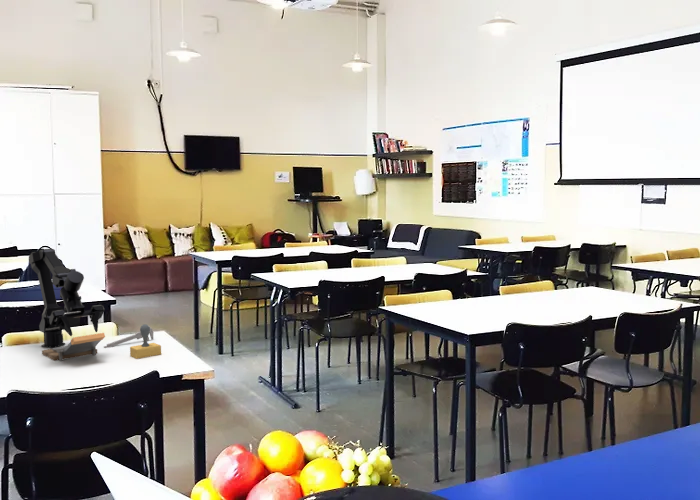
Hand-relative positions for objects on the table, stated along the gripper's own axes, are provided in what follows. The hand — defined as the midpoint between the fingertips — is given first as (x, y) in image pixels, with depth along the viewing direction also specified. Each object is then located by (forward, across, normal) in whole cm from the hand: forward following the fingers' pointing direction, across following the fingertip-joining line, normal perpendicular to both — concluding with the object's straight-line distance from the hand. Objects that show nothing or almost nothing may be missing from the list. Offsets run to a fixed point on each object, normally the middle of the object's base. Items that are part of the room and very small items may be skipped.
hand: (84, 333), depth 250 cm
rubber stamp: (+12, -20, -3) cm, 24 cm away
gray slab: (0, 0, -11) cm, 11 cm away
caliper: (-3, -24, -18) cm, 30 cm away
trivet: (-2, 0, -17) cm, 18 cm away
